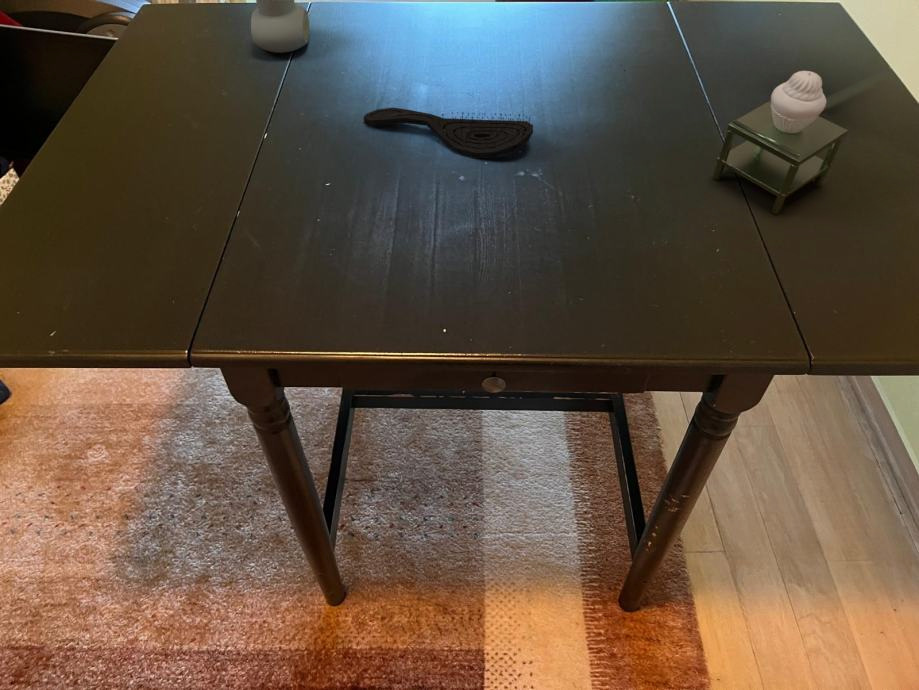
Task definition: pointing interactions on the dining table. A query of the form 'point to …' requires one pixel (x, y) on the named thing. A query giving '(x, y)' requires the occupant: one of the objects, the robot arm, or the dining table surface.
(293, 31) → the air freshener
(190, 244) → the dining table surface
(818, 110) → the muffin
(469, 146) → the hairbrush
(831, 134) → the side table
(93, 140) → the dining table surface
